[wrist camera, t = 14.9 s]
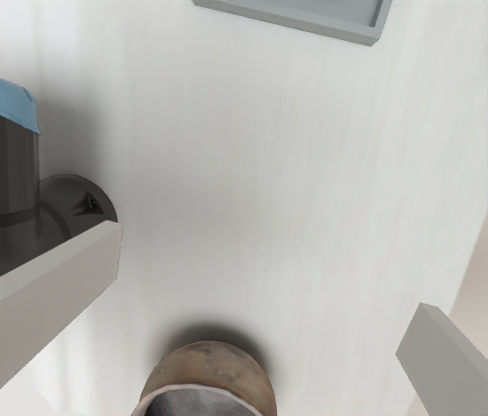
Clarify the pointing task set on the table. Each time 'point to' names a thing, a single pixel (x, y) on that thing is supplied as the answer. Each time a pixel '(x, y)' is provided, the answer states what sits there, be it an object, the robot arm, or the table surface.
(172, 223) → the table surface
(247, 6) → the collection tray
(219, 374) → the ceramic bowl
